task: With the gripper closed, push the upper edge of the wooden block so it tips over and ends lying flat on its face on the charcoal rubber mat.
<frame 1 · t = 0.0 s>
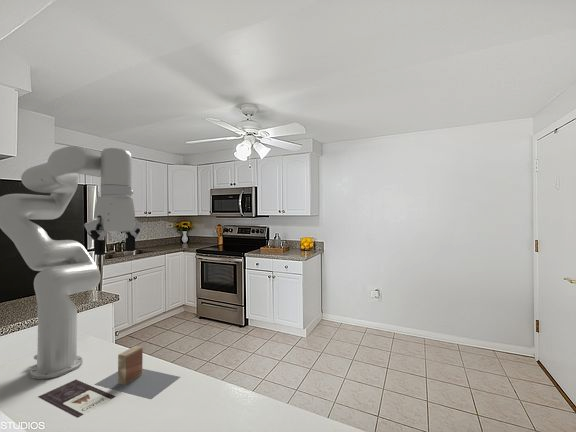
hand: (115, 252, 82), 37 cm above the countertop, tool pointing down, fingers open, 9 cm apart
wooden block: (130, 378, 83), resting on mat
chocolate bar: (76, 401, 74), on the countertop
mat: (138, 382, 82), on the countertop
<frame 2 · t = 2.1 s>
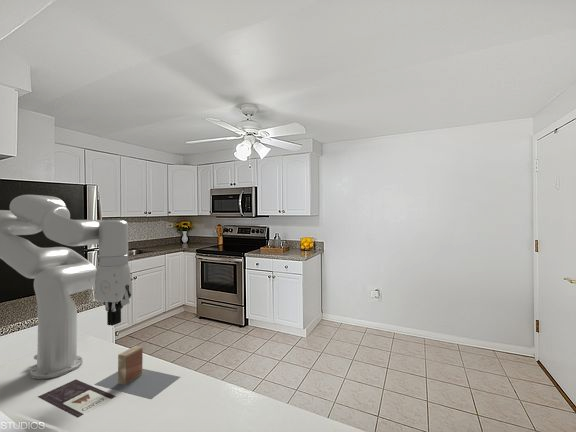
hand: (114, 323, 85), 15 cm above the countertop, tool pointing down, fingers closed
nothing on the countertop moved.
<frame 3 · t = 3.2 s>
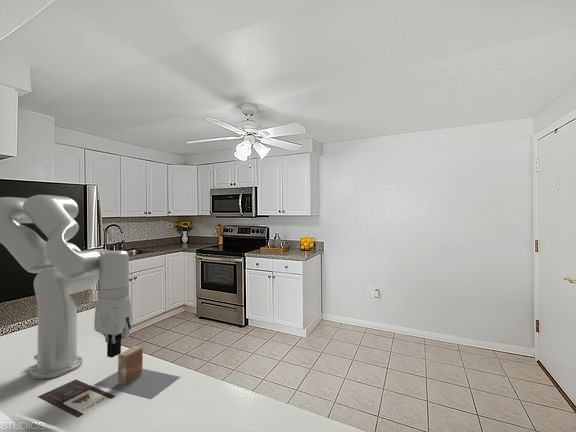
hand: (114, 355, 85), 6 cm above the countertop, tool pointing down, fingers closed
nothing on the countertop moved.
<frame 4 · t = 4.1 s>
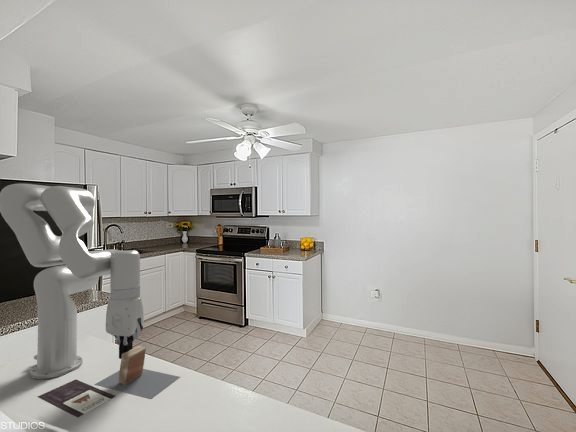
hand: (125, 356, 83), 6 cm above the countertop, tool pointing down, fingers closed
wooden block: (130, 377, 83), point 1 cm above the countertop, tilted 10°, touching gripper, mat
everything else where it was.
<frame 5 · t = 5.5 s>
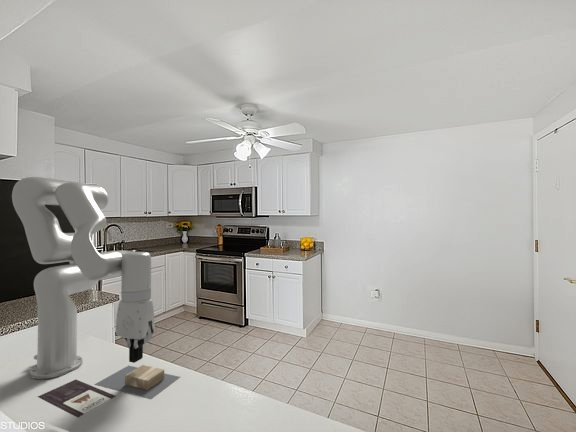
hand: (136, 360, 82), 6 cm above the countertop, tool pointing down, fingers closed
wooden block: (134, 374, 82), point 2 cm above the countertop, tilted 90°, touching mat
everything else where it was.
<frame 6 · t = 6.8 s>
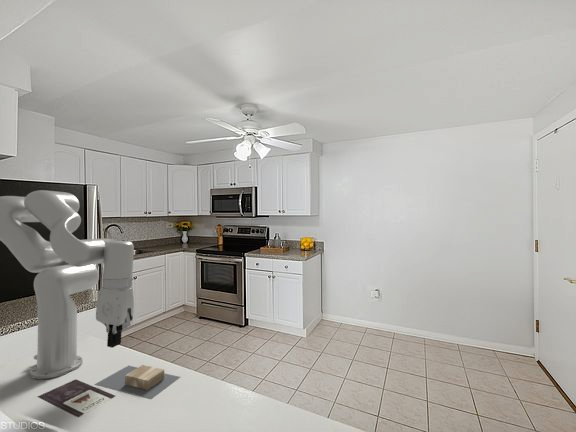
hand: (114, 345, 85), 9 cm above the countertop, tool pointing down, fingers closed
nothing on the countertop moved.
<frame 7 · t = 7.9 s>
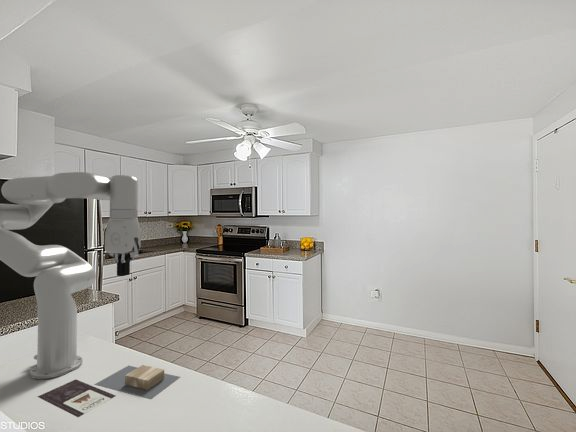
hand: (123, 275, 89), 29 cm above the countertop, tool pointing down, fingers closed
nothing on the countertop moved.
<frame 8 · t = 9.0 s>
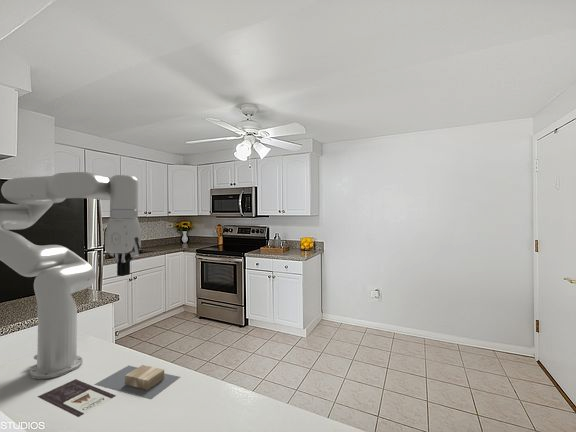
hand: (123, 275, 89), 29 cm above the countertop, tool pointing down, fingers closed
nothing on the countertop moved.
at the end: wooden block tilted 90°; wooden block inside the target area on the mat (2.7 cm from its centre), point 1.9 cm above the mat's base; wooden block touching mat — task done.
